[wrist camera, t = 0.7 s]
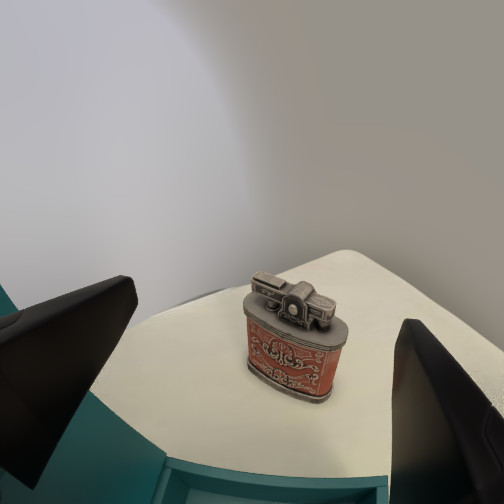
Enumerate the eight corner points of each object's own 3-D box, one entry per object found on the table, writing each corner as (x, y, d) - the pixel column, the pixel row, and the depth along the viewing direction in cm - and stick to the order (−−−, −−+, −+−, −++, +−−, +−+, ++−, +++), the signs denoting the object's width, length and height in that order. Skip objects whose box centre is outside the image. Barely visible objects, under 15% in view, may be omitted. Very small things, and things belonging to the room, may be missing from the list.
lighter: (338, 382, 24) (363, 292, 19) (320, 411, 21) (342, 325, 16) (261, 346, 28) (259, 255, 23) (239, 369, 26) (230, 278, 20)
